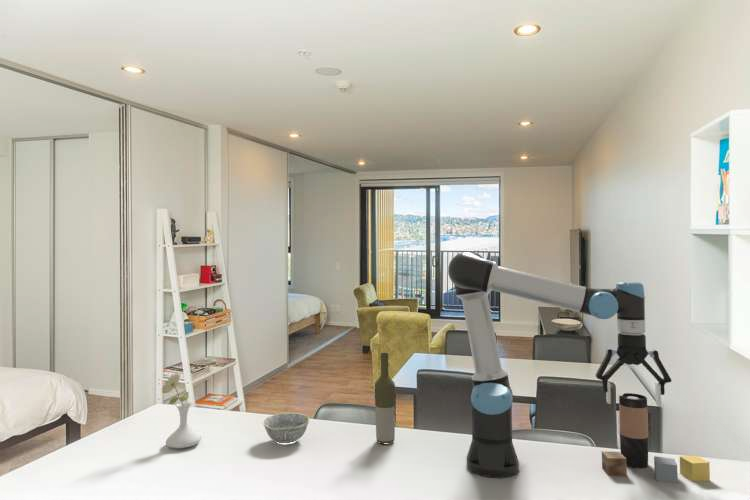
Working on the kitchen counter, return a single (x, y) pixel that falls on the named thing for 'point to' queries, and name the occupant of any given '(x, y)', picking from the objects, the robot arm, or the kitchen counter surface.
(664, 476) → the slate grey cube
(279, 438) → the bowl
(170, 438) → the flower in vase
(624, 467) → the walnut cube
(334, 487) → the kitchen counter surface
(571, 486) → the kitchen counter surface
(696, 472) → the mustard cube
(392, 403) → the bottle
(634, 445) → the travel mug
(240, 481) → the kitchen counter surface
